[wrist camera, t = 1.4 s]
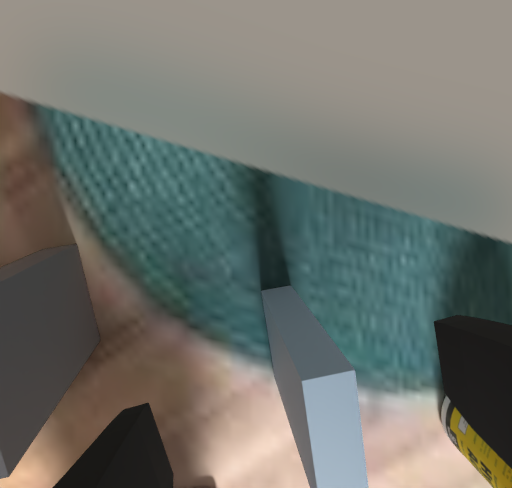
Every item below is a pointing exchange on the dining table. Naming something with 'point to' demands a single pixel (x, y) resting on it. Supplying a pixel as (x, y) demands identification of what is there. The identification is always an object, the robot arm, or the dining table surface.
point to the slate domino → (315, 392)
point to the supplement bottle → (475, 447)
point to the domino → (40, 342)
